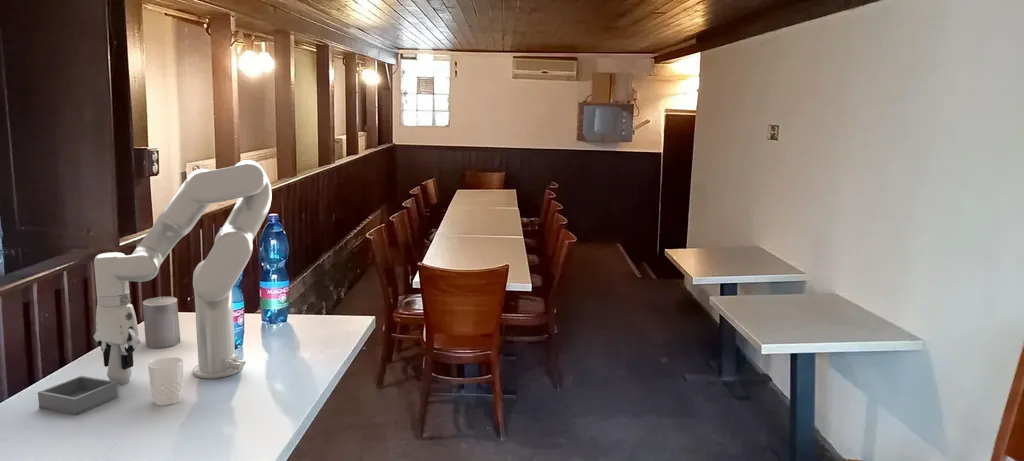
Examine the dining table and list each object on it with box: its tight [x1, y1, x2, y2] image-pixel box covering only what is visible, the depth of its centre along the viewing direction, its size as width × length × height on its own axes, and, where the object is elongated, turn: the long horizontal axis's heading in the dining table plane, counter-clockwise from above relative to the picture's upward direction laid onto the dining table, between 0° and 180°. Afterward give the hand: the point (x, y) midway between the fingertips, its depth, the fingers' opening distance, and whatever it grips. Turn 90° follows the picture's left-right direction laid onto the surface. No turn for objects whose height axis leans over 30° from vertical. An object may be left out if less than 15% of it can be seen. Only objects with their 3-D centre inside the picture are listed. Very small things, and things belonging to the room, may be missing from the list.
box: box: [37, 375, 119, 416], centre depth 183 cm, size 12×12×4 cm
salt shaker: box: [106, 341, 133, 386], centre depth 196 cm, size 6×6×13 cm
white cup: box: [147, 356, 184, 406], centre depth 185 cm, size 8×8×10 cm
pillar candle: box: [142, 296, 181, 349], centre depth 227 cm, size 10×10×15 cm
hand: (118, 365), depth 196 cm, fingers open, 5 cm apart
